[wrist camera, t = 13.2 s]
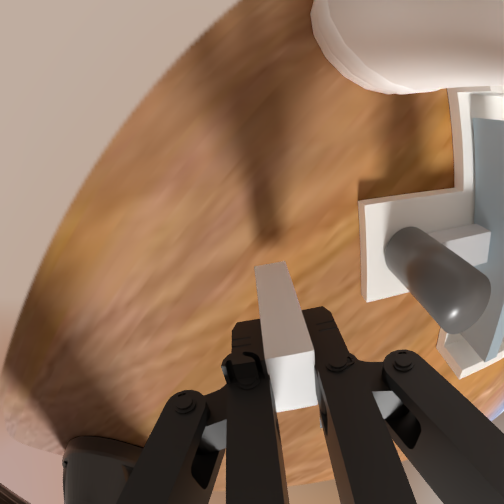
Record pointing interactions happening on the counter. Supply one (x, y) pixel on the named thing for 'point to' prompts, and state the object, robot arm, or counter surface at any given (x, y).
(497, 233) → the blue-grey panel and knob
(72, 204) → the counter surface
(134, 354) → the counter surface
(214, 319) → the counter surface
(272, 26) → the counter surface
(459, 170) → the tray
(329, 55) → the bottle
